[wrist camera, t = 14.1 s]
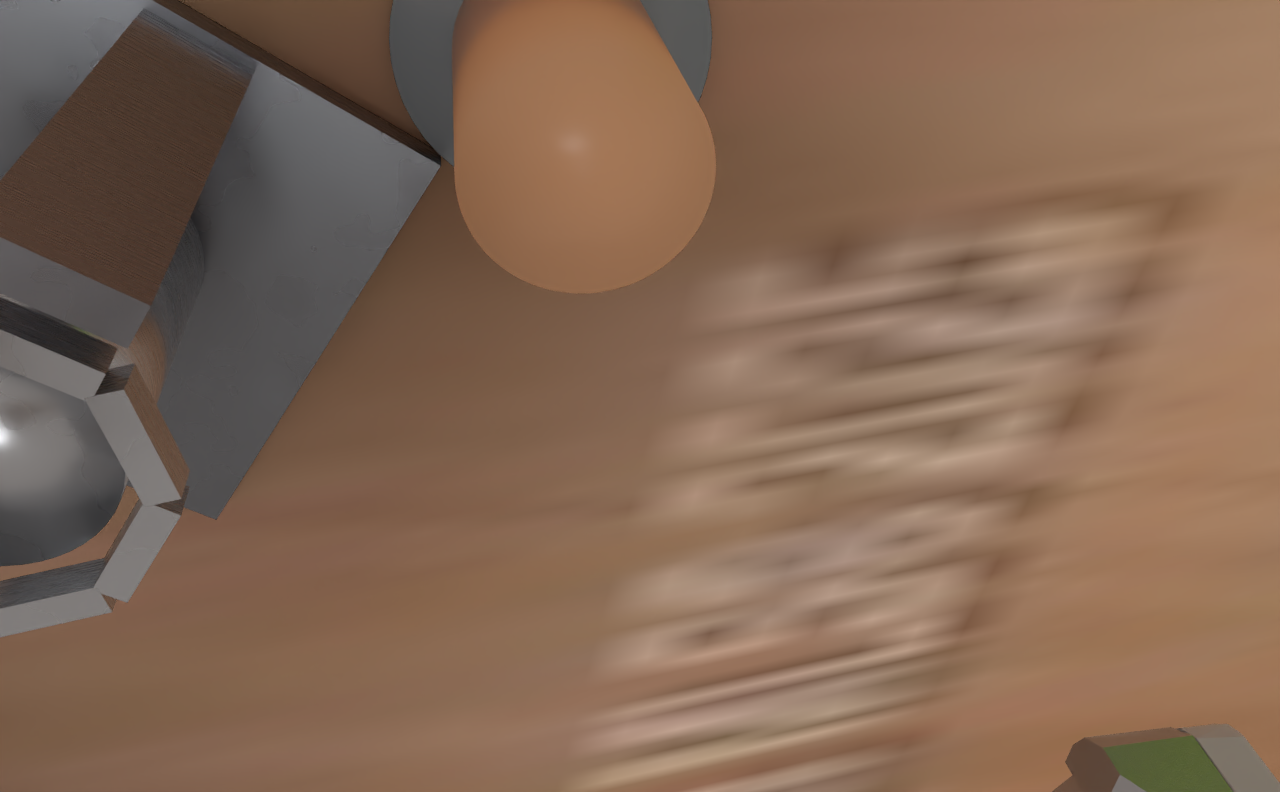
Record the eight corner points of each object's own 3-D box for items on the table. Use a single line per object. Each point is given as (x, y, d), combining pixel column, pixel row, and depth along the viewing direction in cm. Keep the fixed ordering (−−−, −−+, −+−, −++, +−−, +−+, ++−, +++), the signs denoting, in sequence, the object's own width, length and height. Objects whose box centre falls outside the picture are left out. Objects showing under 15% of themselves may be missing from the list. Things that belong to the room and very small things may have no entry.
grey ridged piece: (220, 501, 39) (127, 862, 27) (-238, 321, 33) (-609, 686, 21) (440, 153, 33) (440, 423, 21) (-68, -143, 27) (-447, 12, 15)
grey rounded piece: (593, 241, 35) (595, 249, 35) (331, 89, 31) (330, 96, 31) (769, -3, 32) (775, 3, 31) (500, -207, 28) (501, -204, 27)
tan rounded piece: (638, 229, 34) (692, 386, 27) (455, 229, 34) (459, 392, 26) (667, -155, 29) (745, -88, 21) (446, -168, 28) (448, -102, 20)
